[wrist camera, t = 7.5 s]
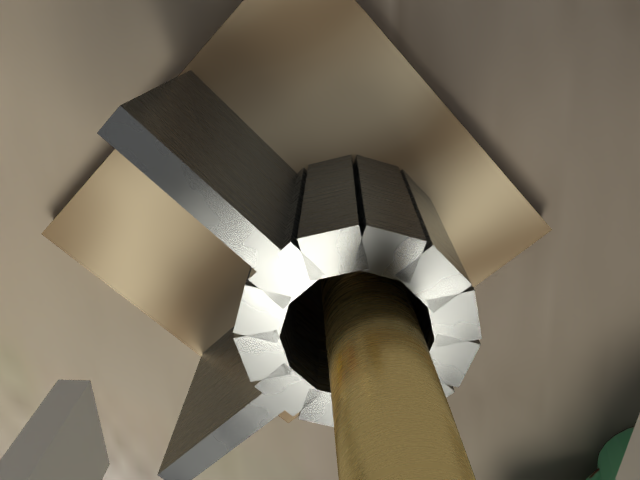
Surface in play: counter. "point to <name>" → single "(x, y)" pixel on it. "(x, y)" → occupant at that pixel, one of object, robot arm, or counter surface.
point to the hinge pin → (385, 386)
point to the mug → (612, 456)
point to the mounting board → (292, 162)
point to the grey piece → (287, 262)
